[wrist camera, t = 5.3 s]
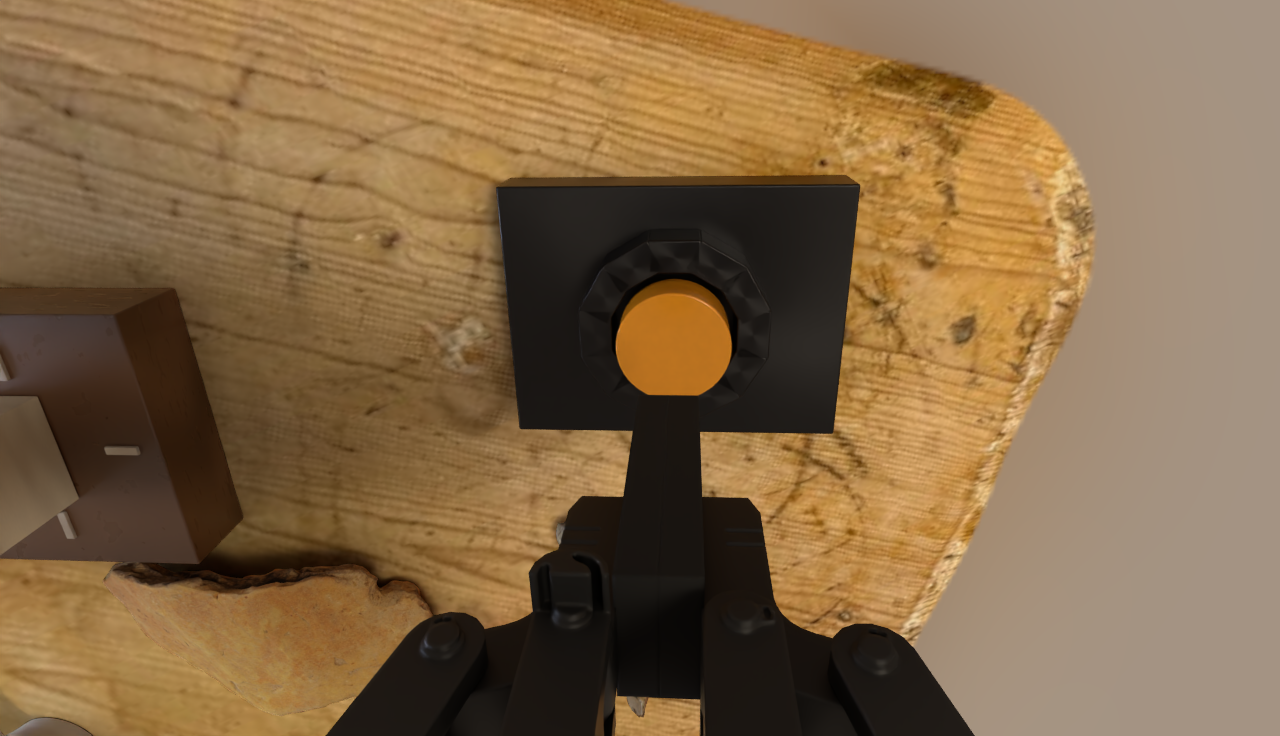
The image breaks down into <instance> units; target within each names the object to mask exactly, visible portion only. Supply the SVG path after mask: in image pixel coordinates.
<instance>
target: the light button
mask: <svg viewBox="0 0 1280 736" xmlns="http://www.w3.org/2000/svg"><path fill="white" fill-rule="evenodd" d="M731 352H732V341H731V335H730V329H729V323H728V318H727V315H726V312H725V310H724V308H723V306H722V304H721V303H720V301H719V300H718V299H717V298H716V297H715V295H714V294H712V293H711V292H710V291H709V290H708V289H706V288H704V287H703V286H701V285H699V284H697V283H694V282H691V281H687V280H682V279H666V280H661V281H657V282H654V283H652V284H650V285H648V286H646V287H644V288H643V289H641V290H640V291H638V292H637V293H636V294H635V295H634V296H633V297H632V298H631V299H630V301H629V302H628V304H627V305H626V307H625V309H624V311H623V314H622V317H621V320H620V324H619V328H618V332H617V337H616V355H617V359H618V363H619V365H620V368H621V370H622V371H623V373H624V375H625V376H626V377H627V379H628V380H629V381H630V382H631V383H632V384H633V385H634V386H635V387H637V388H638V389H639V390H641V391H642V392H644V393H646V394H648V395H700V394H702V393H704V392H706V391H707V390H709V389H710V388H711V387H713V386H714V385H715V384H716V383H717V382H718V381H719V380H720V378H721V377H722V376H723V374H724V373H725V371H726V369H727V367H728V365H729V362H730V358H731Z"/></svg>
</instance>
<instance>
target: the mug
mask: <svg viewBox="0 0 1280 736" xmlns="http://www.w3.org/2000/svg"><path fill="white" fill-rule="evenodd" d="M0 736H4V735H3V733H2V732H1V731H0ZM6 736H92V735H91V734H90V733H88V732H87V731H85V730H84V729H82V728H80V727H79V726H77V725H74V724H72V723H70V722H67V721H64V720H60V719H54V718H37V719H33V720H31V721H29V722H27V723H25V724H24V725H22V726H21V727H19V728H18V729H16V730H15V731H13V732H11V733H10V734H8V735H6Z"/></svg>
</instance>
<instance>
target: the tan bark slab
mask: <svg viewBox="0 0 1280 736" xmlns="http://www.w3.org/2000/svg"><path fill="white" fill-rule="evenodd" d="M377 580H378V578H377V577H376V576H374V575H372V574H370V573H369V572H368V570H367V569H366V568H364V567H362V566H357V565H355V564H344V565H340V566H327V567H326V566H317V567H304V568H302V569H301V570H298V571H296V570H295V569H294V568H290V569H274V570H273V571H272V572H270V573H268V574H266V575H249V576H246V577H244V578H243V579H240V578H232V577H227V576H222V575H218V574H216V573H214V572H212V571H210V570H203V571H195V572H192V571H179V572H172V571H170V570H167V569H166V568H164V567H162V566H160V565H158V564H155V563H143V562H123V563H119V564H115V565H114V566H113V567H112V568H111V570H110V572H109V573H108V574H107V576H106V577H105V578H104V580H103V583H104V585H105V586H106V587H107V588H108V590H109V591H110V592H111V593H112V594H113V595H114V596H115V597H116V598H117V599H119V600H120V601H121V602H122V603H123V604H124V605H125V607H126V608H127V609H128V610H129V612H130V613H131V614H132V616H133V618H134V620H135V621H136V622H137V624H138V625H139V627H140V628H141V630H142V631H143V632H144V634H145V635H146V636H148V637H149V638H150V639H152V640H153V641H154V642H155V643H157V644H158V645H159V646H160V647H162V648H163V649H165V650H166V651H168V652H169V653H171V654H173V655H175V656H178V657H180V658H182V659H184V660H185V661H186V662H188V663H189V664H190V665H192V666H194V667H195V668H197V669H200V670H202V671H204V672H205V673H207V674H208V675H210V676H211V677H213V678H214V679H216V680H217V681H218V682H219V683H220V684H221V685H222V686H223V687H225V688H226V689H227V690H228V691H230V692H232V693H233V694H235V695H238V696H239V697H241V698H242V699H244V700H245V701H247V702H249V703H250V704H252V705H253V706H255V707H257V708H258V709H260V710H262V711H264V712H267V713H270V714H272V715H279V716H282V715H287V714H291V713H299V712H304V711H307V710H312V709H317V708H321V707H326V706H327V705H329V704H332V703H335V702H338V701H341V700H344V699H348V698H351V697H357V696H358V695H359V694H360V692H361V691H362V690H363V689H364V688H365V686H366V685H367V684H368V683H369V681H370V680H371V679H372V678H373V676H374V675H375V674H376V673H377V671H378V670H379V669H380V668H381V666H382V665H383V664H384V663H385V661H386V660H387V659H388V658H389V656H390V655H391V654H392V653H393V651H394V650H395V649H396V648H397V646H398V645H399V644H400V643H401V641H402V640H403V639H404V638H405V636H406V635H407V634H408V633H409V632H410V631H411V630H412V629H413V628H414V627H416V626H417V625H418V624H419V623H420V622H422V621H424V620H426V619H428V618H430V617H432V616H433V615H432V613H431V611H430V609H429V606H428V604H427V603H426V602H425V601H424V600H423V599H422V598H421V597H420V590H419V588H418V587H417V586H416V585H415V584H413V583H411V582H408V581H405V582H400V581H396V580H395V581H391V582H390V583H389V584H387V585H385V586H384V587H382V588H378V586H377V584H376V583H377Z"/></svg>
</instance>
